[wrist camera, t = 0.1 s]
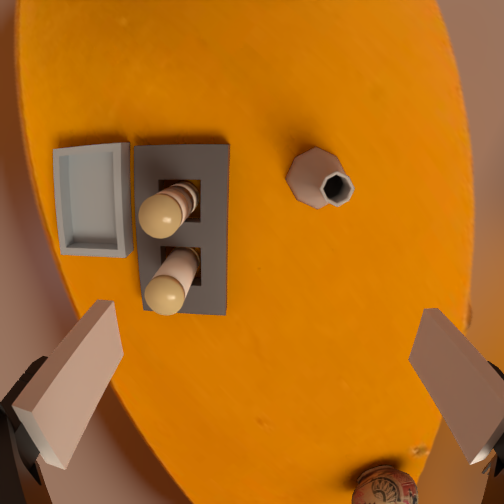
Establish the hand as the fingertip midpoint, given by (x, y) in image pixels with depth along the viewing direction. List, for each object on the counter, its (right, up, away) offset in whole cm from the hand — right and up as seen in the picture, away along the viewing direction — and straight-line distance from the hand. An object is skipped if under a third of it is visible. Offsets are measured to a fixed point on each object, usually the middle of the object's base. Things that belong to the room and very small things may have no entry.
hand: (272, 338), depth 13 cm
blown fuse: (-9, +10, +26) cm, 29 cm away
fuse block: (-9, +6, +27) cm, 29 cm away
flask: (+7, +12, +25) cm, 29 cm away
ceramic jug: (+28, -49, +46) cm, 73 cm away
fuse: (-9, +3, +29) cm, 30 cm away
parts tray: (-21, +11, +26) cm, 35 cm away
